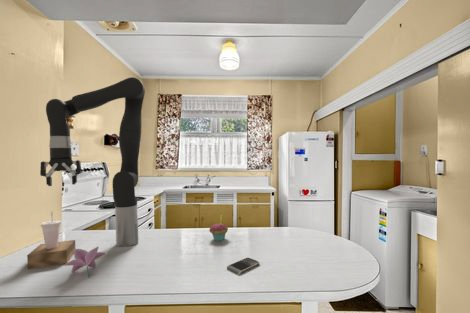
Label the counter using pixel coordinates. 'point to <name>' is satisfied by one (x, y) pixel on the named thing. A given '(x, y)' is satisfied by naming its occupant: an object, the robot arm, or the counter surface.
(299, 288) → the counter surface
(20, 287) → the counter surface
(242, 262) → the cell phone
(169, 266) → the counter surface
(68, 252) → the walnut block
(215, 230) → the cupcake
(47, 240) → the smoothie
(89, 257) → the lily
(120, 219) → the robot arm
